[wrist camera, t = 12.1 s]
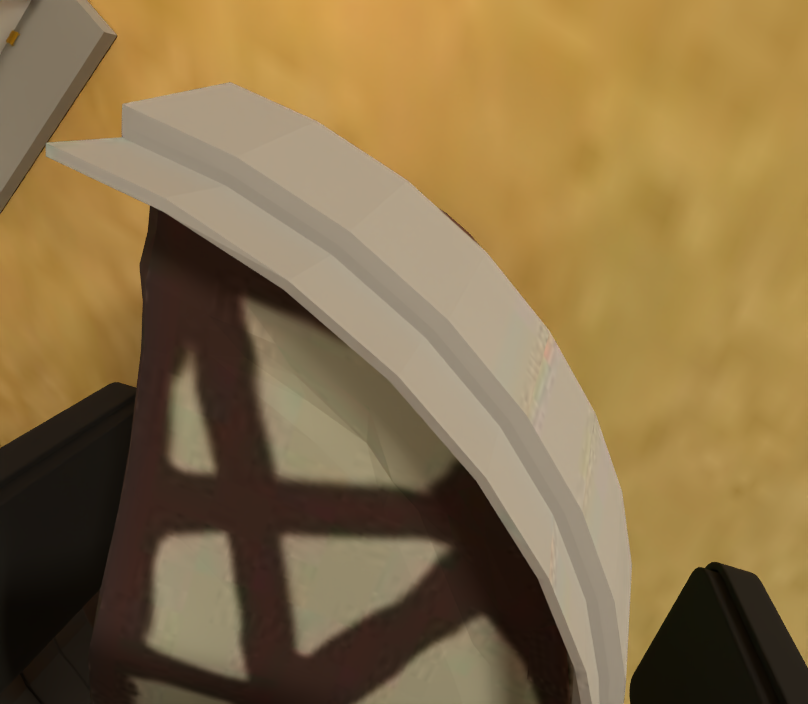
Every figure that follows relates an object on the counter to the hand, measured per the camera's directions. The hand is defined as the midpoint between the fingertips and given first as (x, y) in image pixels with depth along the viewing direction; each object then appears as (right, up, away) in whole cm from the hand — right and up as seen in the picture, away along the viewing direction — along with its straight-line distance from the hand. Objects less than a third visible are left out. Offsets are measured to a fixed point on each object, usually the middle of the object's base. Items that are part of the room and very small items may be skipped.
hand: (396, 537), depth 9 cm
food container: (+1, +2, +6) cm, 6 cm away
